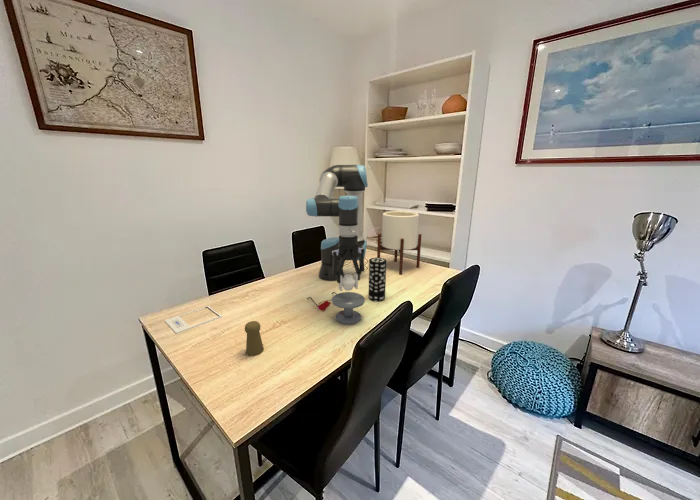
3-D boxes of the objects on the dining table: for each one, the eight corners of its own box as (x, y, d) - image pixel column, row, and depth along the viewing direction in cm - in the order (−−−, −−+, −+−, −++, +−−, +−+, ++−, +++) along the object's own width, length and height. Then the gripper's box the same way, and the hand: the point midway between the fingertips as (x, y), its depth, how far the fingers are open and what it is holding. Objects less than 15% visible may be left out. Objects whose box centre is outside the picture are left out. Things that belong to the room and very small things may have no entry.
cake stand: (328, 313, 128) (328, 294, 125) (357, 308, 132) (357, 290, 130) (337, 328, 115) (337, 308, 112) (369, 322, 119) (369, 303, 117)
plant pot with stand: (374, 267, 188) (375, 213, 179) (395, 260, 203) (397, 210, 193) (401, 276, 172) (404, 217, 163) (422, 267, 187) (426, 213, 177)
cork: (248, 346, 103) (245, 319, 101) (265, 345, 104) (262, 318, 101) (243, 356, 98) (240, 328, 95) (261, 355, 98) (259, 327, 95)
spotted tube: (384, 302, 138) (385, 263, 132) (367, 300, 139) (368, 262, 134) (385, 295, 146) (387, 258, 140) (369, 293, 147) (370, 257, 142)
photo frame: (164, 319, 121) (208, 305, 133) (164, 322, 121) (208, 307, 134) (176, 332, 111) (221, 315, 124) (176, 334, 111) (222, 317, 124)
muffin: (342, 286, 123) (341, 270, 121) (356, 286, 122) (356, 271, 121) (340, 291, 117) (340, 276, 115) (354, 292, 116) (355, 276, 115)
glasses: (318, 313, 128) (318, 303, 127) (306, 299, 142) (306, 289, 141) (346, 307, 134) (346, 297, 133) (332, 294, 148) (332, 285, 147)
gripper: (327, 238, 107) (328, 295, 113) (373, 235, 113) (372, 289, 119) (322, 234, 114) (324, 288, 120) (366, 231, 120) (365, 282, 126)
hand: (348, 288), depth 120 cm, fingers closed on muffin, 6 cm apart
